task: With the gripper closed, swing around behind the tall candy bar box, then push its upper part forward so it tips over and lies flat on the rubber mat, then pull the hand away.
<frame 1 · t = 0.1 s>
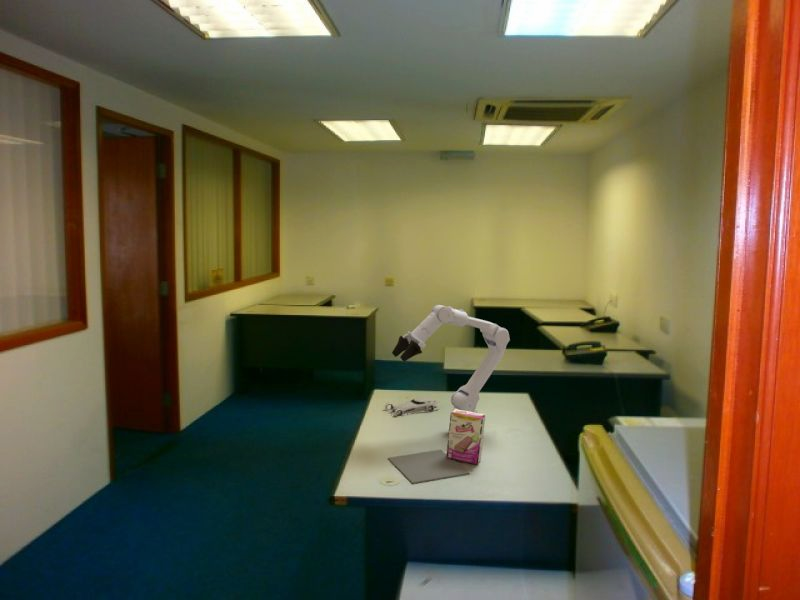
hand: (397, 357, 201), 32 cm above the table, tool tilted 50°, fingers open, 7 cm apart
candy bar box: (463, 460, 191), on the table, touching mat
mat: (427, 466, 186), on the table
car model: (413, 411, 243), on the table
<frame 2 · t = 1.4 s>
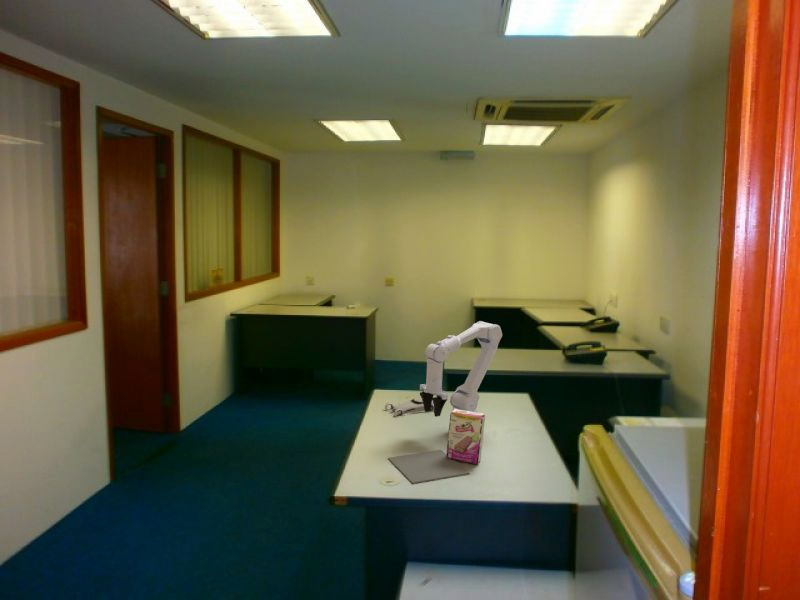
hand: (432, 413, 207), 10 cm above the table, tool pointing down, fingers open, 5 cm apart
nothing on the table moved.
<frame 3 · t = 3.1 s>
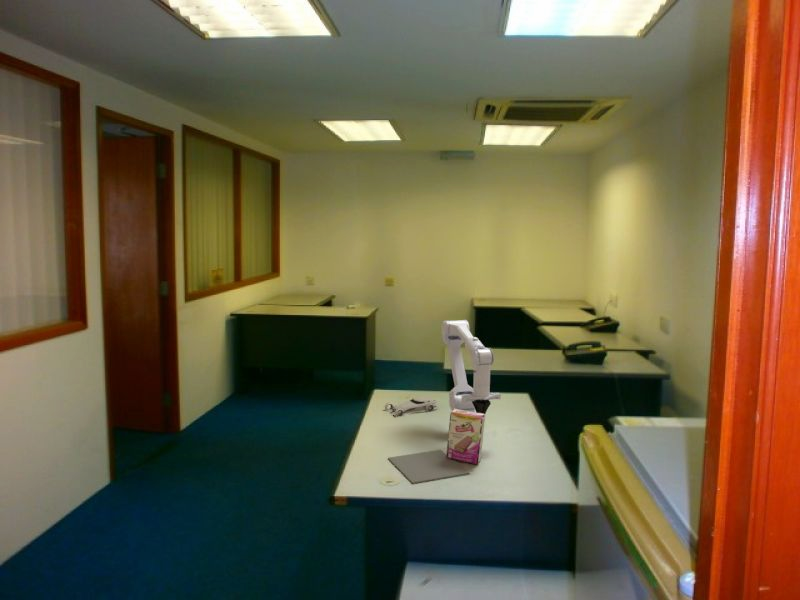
hand: (480, 420, 201), 10 cm above the table, tool pointing down, fingers closed
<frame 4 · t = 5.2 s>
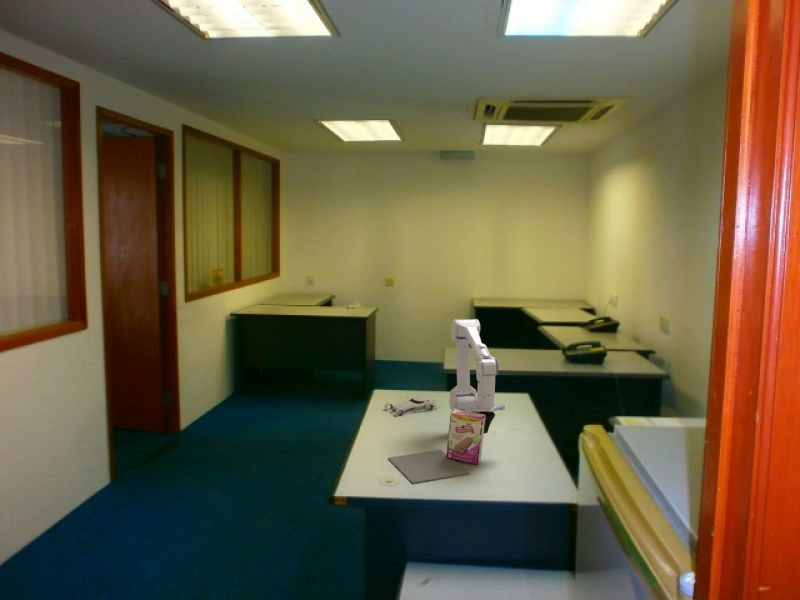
hand: (484, 432, 193), 9 cm above the table, tool pointing down, fingers closed
candy bar box: (463, 459, 191), on the table, touching mat
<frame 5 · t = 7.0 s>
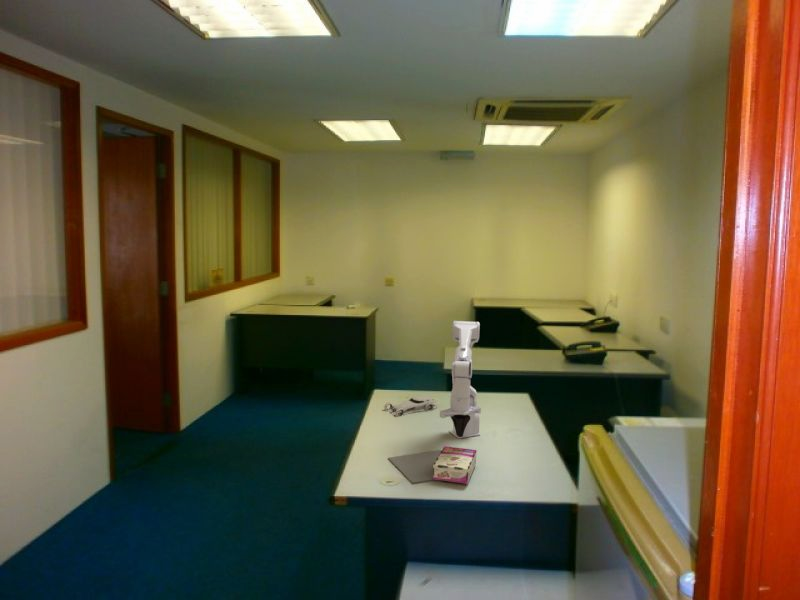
hand: (459, 435, 189), 9 cm above the table, tool pointing down, fingers closed
candy bar box: (460, 454, 189), point 3 cm above the table, touching mat
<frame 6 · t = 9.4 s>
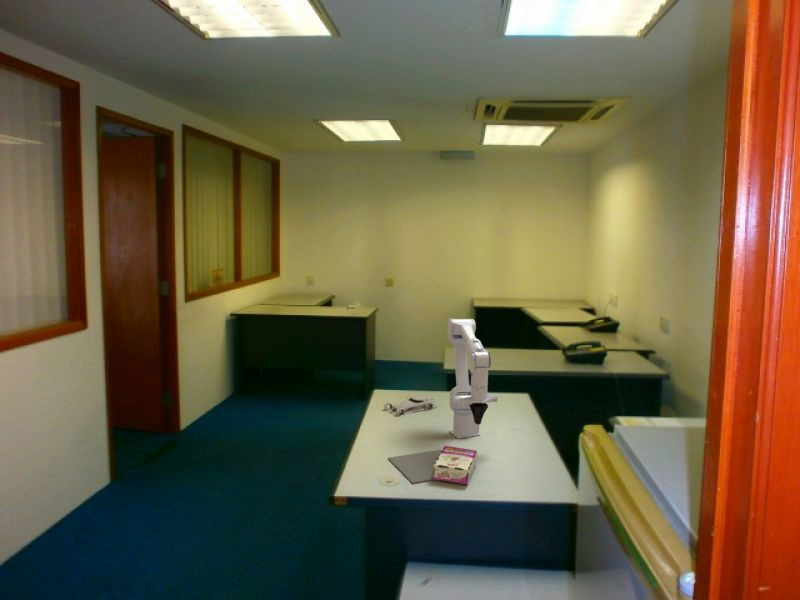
hand: (477, 423, 198), 10 cm above the table, tool pointing down, fingers closed
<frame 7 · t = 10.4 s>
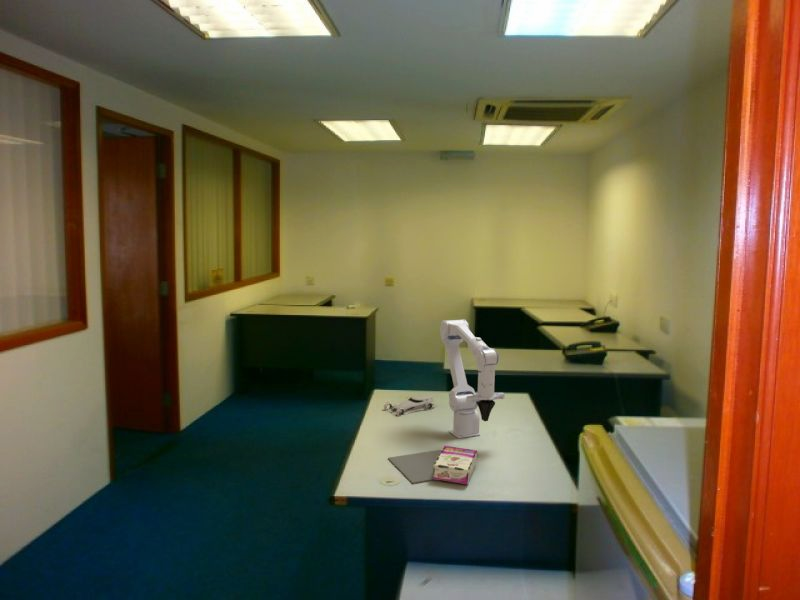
hand: (484, 420, 201), 10 cm above the table, tool pointing down, fingers closed
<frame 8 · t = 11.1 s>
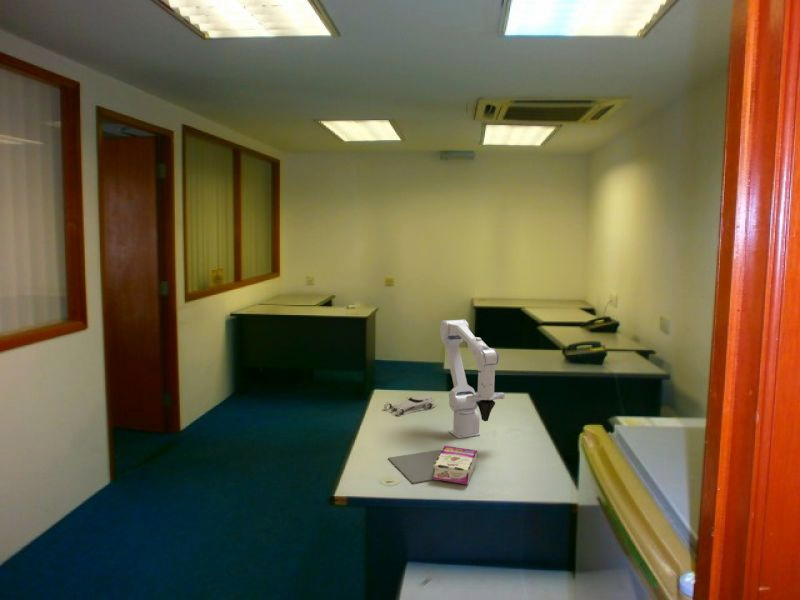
hand: (484, 420, 201), 10 cm above the table, tool pointing down, fingers closed
at the end: candy bar box tilted 90°; candy bar box inside the target area (4.2 cm from its centre), point 2.9 cm above the table; candy bar box touching mat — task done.
